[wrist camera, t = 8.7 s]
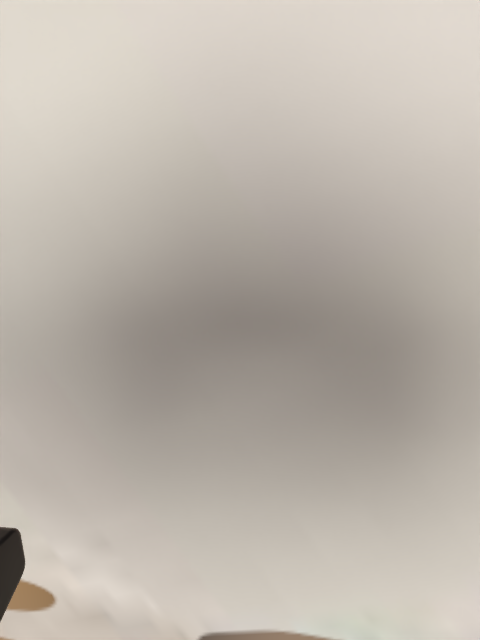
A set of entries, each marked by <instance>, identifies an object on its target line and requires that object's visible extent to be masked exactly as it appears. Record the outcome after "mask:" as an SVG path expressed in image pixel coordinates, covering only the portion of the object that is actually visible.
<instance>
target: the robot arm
mask: <svg viewBox="0 0 480 640" xmlns="http://www.w3.org/2000/svg"><path fill="white" fill-rule="evenodd" d="M24 568H25V557H24V551H23V545H22V540H21V534H20V532H19V530H18V529H16V528H6V527H0V621H1V619H2V617H3V615H4V613H5V611H6V609H7V607H8V604H9V602H10V600H11V598H12V596H13V593H14V592H15V589H16V587H17V585H18V583H19V581H20V579H21V577H22V574H23V571H24Z"/></svg>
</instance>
